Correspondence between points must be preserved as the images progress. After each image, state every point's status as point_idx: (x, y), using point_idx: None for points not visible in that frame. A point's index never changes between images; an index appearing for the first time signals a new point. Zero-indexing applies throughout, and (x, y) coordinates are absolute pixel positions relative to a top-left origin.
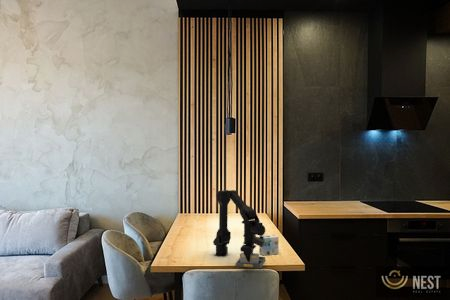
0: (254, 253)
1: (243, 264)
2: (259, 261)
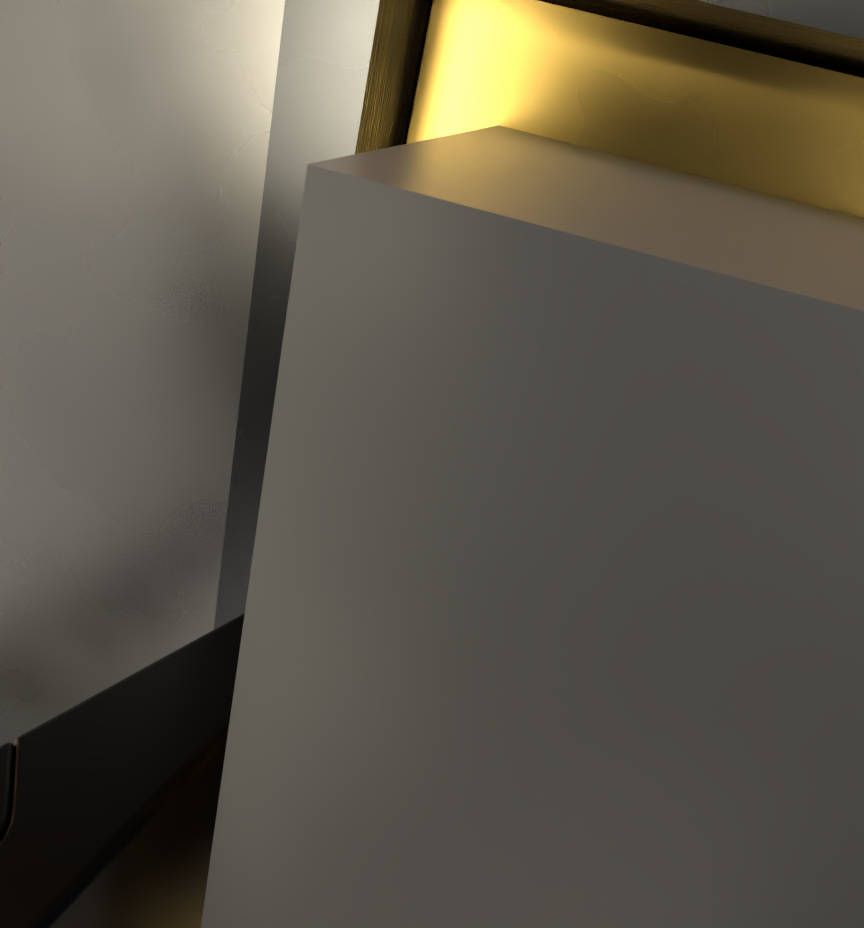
0: (316, 694)
1: None
2: (372, 93)
